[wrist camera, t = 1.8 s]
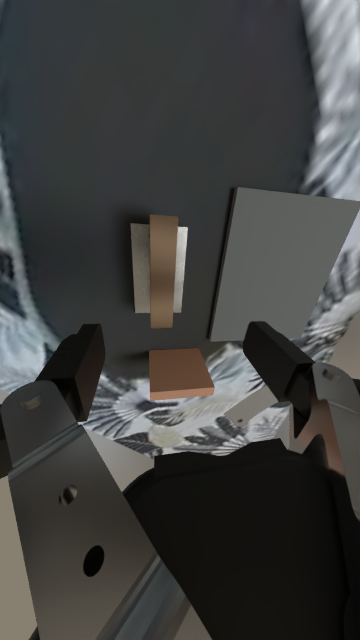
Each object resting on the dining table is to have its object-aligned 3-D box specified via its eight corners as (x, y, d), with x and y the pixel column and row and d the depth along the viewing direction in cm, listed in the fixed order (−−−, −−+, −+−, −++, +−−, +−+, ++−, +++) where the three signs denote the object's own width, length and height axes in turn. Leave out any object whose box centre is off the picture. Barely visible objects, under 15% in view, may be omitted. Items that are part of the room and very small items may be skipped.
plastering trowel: (130, 213, 22) (124, 212, 16) (187, 218, 23) (201, 218, 17) (135, 311, 28) (132, 335, 22) (180, 310, 29) (188, 333, 24)
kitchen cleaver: (314, 356, 39) (325, 382, 44) (310, 353, 40) (322, 379, 44) (218, 410, 44) (236, 429, 48) (216, 406, 44) (235, 425, 49)
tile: (149, 358, 33) (150, 401, 25) (149, 350, 32) (150, 392, 24) (197, 355, 35) (212, 396, 27) (198, 348, 34) (214, 387, 26)
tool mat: (208, 338, 33) (210, 341, 32) (234, 188, 22) (238, 187, 21) (296, 335, 36) (300, 338, 35) (355, 202, 25) (362, 201, 25)
